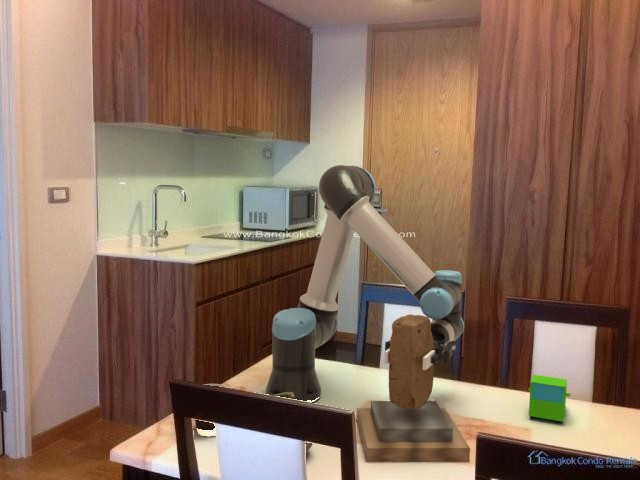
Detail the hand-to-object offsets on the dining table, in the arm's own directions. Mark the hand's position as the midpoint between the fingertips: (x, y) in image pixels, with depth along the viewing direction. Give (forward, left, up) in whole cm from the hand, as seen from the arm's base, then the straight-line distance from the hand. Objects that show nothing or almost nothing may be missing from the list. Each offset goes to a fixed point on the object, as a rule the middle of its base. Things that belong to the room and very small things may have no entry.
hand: (404, 360), depth 130 cm
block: (+3, +4, -11) cm, 12 cm away
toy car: (+41, +19, -20) cm, 50 cm away
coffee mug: (-43, +9, -20) cm, 48 cm away
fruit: (-25, -3, -20) cm, 32 cm away
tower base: (+2, +4, -20) cm, 20 cm away
